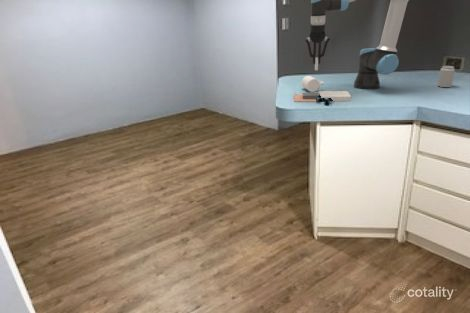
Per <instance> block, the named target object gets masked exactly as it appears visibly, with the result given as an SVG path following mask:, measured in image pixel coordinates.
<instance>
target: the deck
mask: <svg viewBox="0 0 470 313" xmlns="http://www.w3.org/2000/svg"><path fill="white" fill-rule="evenodd" d="M318 93H319V95H320V96H321V98H331V99H332V100H333V101H332V102H351V99H352V98H351V97H352V96H351V94H350V93H349V92H348V90H342V91H341V90H339V91H338V90H328V91H327V90H325V91H324V90H323V91H321V90H318Z"/></svg>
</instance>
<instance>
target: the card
mask: <svg viewBox="0 0 470 313" xmlns="http://www.w3.org/2000/svg"><path fill="white" fill-rule="evenodd" d="M301 95H302V97H303V99H316V98H317V97H318V96H319V92H302V93H301Z"/></svg>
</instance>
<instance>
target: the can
mask: <svg viewBox="0 0 470 313" xmlns="http://www.w3.org/2000/svg"><path fill="white" fill-rule="evenodd" d="M455 71H456V69H455V67H454V66H452V65H443V66H441V68H440V70H439V74H438V80H437V86H438V87H439V86H440V87H439V88H442V87H449V88H451V87H452V86H453V81H454V76H455Z"/></svg>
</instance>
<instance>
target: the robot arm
mask: <svg viewBox="0 0 470 313" xmlns="http://www.w3.org/2000/svg"><path fill="white" fill-rule="evenodd" d="M355 1H356V0H310V3H311V4H310V24H311V25H310V32H309V33H310V34H309V35H308V37H307V38H305V39H304V40H305V42H306V44H307V49H308V54H309V56H310V58H312V63H313V65H314V71H318V70H319V64H321V58H322V57H323V58H324V56H325V55H326V54H325V53H326V49H327V47H328V46H327V45H328V43H329V41H330V40H331V38H330V37H328V36H327V35H326V24H325V23H326V15H327V13H328V12H339V11H340V12H342V11H346V10H347V9H348V8H349V4H350V3H352V2H355ZM409 1H410V0H390V2H389V6H388V8H387V10H388V11H387V14H386V18H385V23H384V27H383V30H382V34H381V39H380V42H379V45H378V46H377V47H369V48H362V49H361V50H360V51H359V56H358V57H359V58H358V70H357V75H356V78H355V80H354V81H353V82H354V83H353V87H354V88H357V89H361V90H376V89H378V88H380V84H381V82H380V77H379V74H380V75H385V76H387V75H390V74H392V73H394V72H395V71H396V69H397V68H398V66H399V62H400V60H399V57H398V56H397V55H398V49H397V48H396V47H397V43H398V39H399V35H400V32H401V28H402V24H403V20H404V18H405V13H406V8H407V6H408V2H409ZM323 41H324V43H323V47H322V42H323ZM310 42H312V44H313V49H312V47H311V43H310ZM317 46H318V47H317ZM321 49H322V50H321ZM312 50H313V51H312ZM316 51H317V52H316ZM316 53H317V54H316Z"/></svg>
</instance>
